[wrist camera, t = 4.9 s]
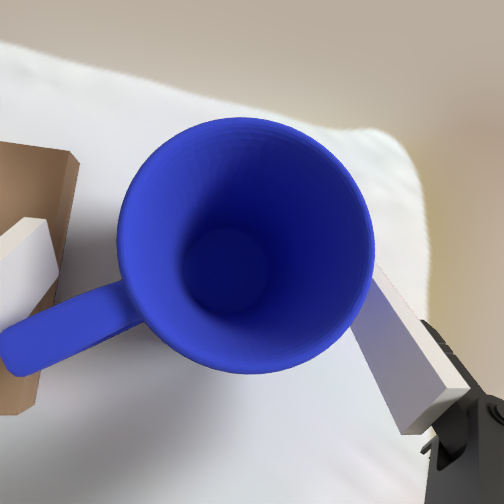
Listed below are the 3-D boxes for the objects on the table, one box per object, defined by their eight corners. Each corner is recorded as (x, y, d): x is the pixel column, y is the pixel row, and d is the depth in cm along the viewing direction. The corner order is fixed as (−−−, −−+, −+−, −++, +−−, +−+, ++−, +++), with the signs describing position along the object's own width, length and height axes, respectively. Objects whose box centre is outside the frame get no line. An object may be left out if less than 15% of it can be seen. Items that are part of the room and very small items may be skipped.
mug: (73, 267, 17) (-93, 217, 7) (252, 192, 20) (306, 85, 10) (131, 396, 16) (34, 533, 7) (307, 299, 19) (419, 294, 9)
